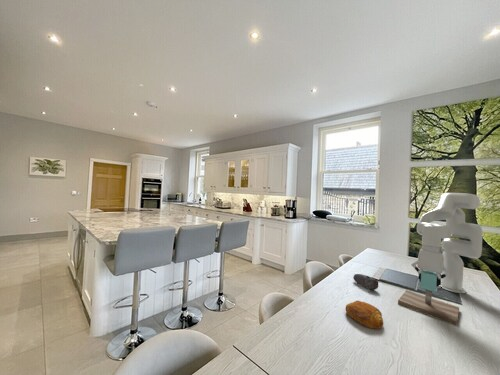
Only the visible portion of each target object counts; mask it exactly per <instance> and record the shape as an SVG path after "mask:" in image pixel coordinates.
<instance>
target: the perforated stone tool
mask: <svg viewBox="0 0 500 375" xmlns="http://www.w3.org/2000/svg"><path fill="white" fill-rule="evenodd" d="M353 281H354V282H355V283H356V284H358V285H360V286H361V287H364V288H365V289H369V290H371V291H373V290H377V289H378V288H379V281H378V279H376V278H374V277H371V276H369V275H365V274H362V273H355V274H354V275H353Z"/></svg>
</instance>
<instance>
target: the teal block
mask: <svg viewBox="0 0 500 375" xmlns="http://www.w3.org/2000/svg"><path fill="white" fill-rule="evenodd" d="M437 278H438V276H437V274H436V273H435V272H431V271H427V270H423V271H422V272H421V282H420V288H421V289H423V290H426V289H427V290H430V291H432V293H433V292H434V293H436V292H437V290H438V287H439V286H438V287H437Z"/></svg>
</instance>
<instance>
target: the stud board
mask: <svg viewBox="0 0 500 375" xmlns="http://www.w3.org/2000/svg"><path fill="white" fill-rule="evenodd" d="M432 294H433V291H430V290H427V289H425V295H423V294H419V293H418V292H417V293H416V292H413V291H410V290H407V289H406V290H405V291H404V292H403V294H402V295H400V297H399V299H397V300H398V301H397V304H398V305H401V306H404V307H406V308H407V309H408V308H409V309H411V310H414V311H417V312H419V313H422V314H424V315H427V316H430V317H433V318H435V319H438V320H441V321H443V322H446V323H448V324H452V325H454V326H457V324H458V318H459V313H460V306H456V305H453V304H451V303H448V302H444V301H442V300H438V299H435V298H432V297H433V296H432Z"/></svg>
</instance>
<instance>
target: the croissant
mask: <svg viewBox="0 0 500 375" xmlns="http://www.w3.org/2000/svg"><path fill="white" fill-rule="evenodd" d="M345 312H346V314H347V315H348V316H349V317H350V318H352V319H354V320H355V321H356V322H357V323H359V324H361V325H363V326H365V327H368V328H369V329H375V330H378V329H382V327H383V325H384V320H383V314H382V312H381V311H380V309H379V308H377V307H376V306H375V305H372V304H371V303H368V302H365V301H361V300H355V301H353V302H350V303H347V304H346V305H345Z"/></svg>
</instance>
